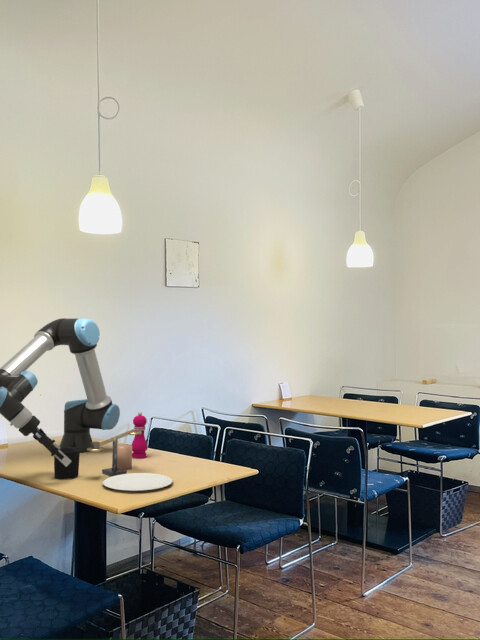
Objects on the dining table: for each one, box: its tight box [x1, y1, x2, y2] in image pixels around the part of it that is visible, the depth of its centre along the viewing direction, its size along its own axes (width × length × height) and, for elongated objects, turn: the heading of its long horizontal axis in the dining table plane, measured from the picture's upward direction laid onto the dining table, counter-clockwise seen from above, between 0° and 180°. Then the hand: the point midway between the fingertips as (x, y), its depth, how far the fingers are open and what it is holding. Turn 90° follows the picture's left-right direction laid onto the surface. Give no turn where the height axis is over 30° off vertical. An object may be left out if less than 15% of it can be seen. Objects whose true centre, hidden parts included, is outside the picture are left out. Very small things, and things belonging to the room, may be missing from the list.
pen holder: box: [53, 448, 81, 480], centre depth 225 cm, size 9×9×10 cm
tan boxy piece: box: [117, 443, 133, 471], centre depth 241 cm, size 8×8×9 cm
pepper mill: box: [131, 411, 149, 460], centre depth 262 cm, size 7×7×20 cm
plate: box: [102, 472, 173, 492], centre depth 215 cm, size 25×25×2 cm
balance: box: [87, 428, 142, 477], centre depth 231 cm, size 8×23×16 cm, turn 134°
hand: (66, 460), depth 225 cm, fingers open, 13 cm apart
